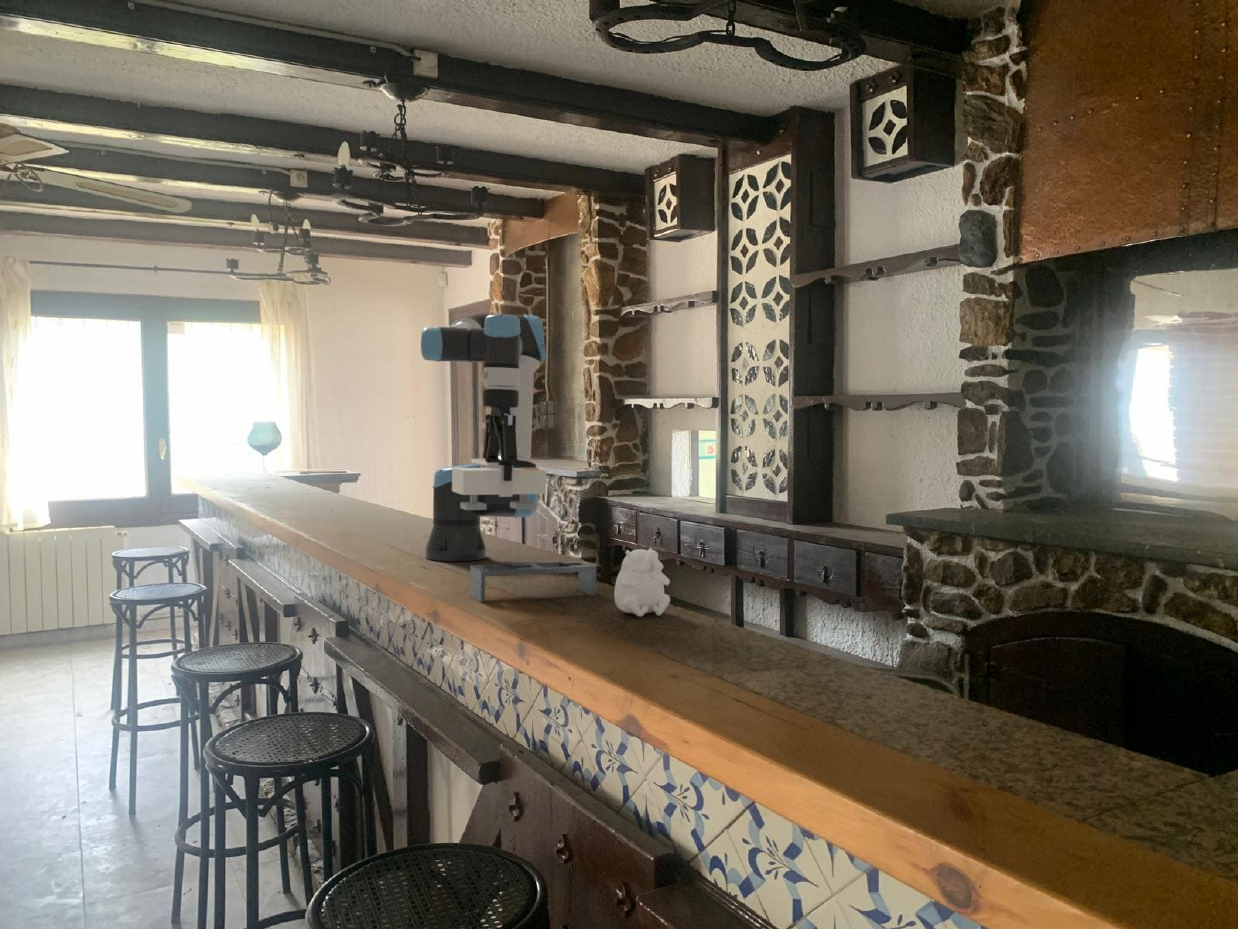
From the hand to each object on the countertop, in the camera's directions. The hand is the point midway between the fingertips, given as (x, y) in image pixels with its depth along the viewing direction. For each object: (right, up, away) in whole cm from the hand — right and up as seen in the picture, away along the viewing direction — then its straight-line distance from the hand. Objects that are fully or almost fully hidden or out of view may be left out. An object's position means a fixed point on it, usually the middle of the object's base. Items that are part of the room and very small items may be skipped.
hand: (498, 494), depth 198 cm
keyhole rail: (+8, -20, -12) cm, 25 cm away
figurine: (+29, -21, -26) cm, 45 cm away
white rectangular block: (0, -3, 0) cm, 3 cm away
